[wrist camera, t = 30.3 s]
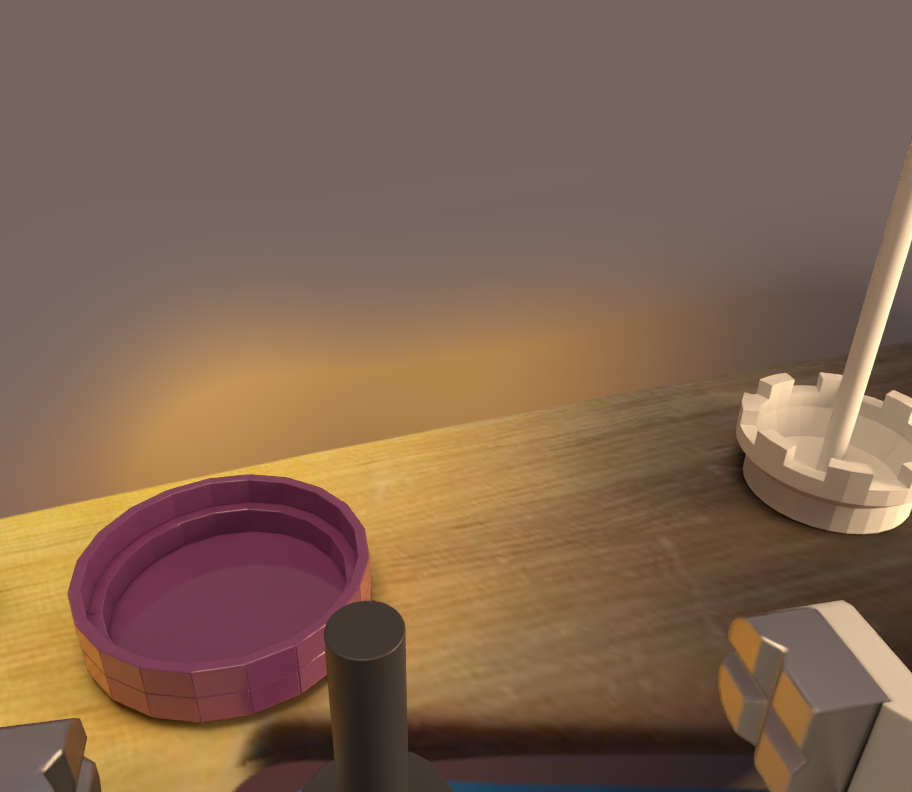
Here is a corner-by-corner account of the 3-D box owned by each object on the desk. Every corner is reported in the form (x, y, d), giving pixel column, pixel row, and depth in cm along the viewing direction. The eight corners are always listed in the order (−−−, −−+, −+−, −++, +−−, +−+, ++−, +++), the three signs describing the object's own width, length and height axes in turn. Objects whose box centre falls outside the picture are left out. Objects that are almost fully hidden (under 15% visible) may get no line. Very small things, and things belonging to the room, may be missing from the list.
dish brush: (300, 980, 30) (262, 728, 23) (294, 816, 35) (262, 573, 28) (472, 943, 31) (484, 693, 24) (440, 790, 36) (443, 551, 29)
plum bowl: (58, 754, 38) (37, 695, 36) (109, 541, 50) (96, 489, 48) (387, 702, 40) (385, 644, 38) (356, 513, 53) (353, 463, 51)
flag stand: (894, 574, 49) (1099, 29, 34) (695, 486, 56) (792, 7, 41) (951, 480, 58) (1135, 12, 43) (772, 414, 65) (875, -4, 50)
